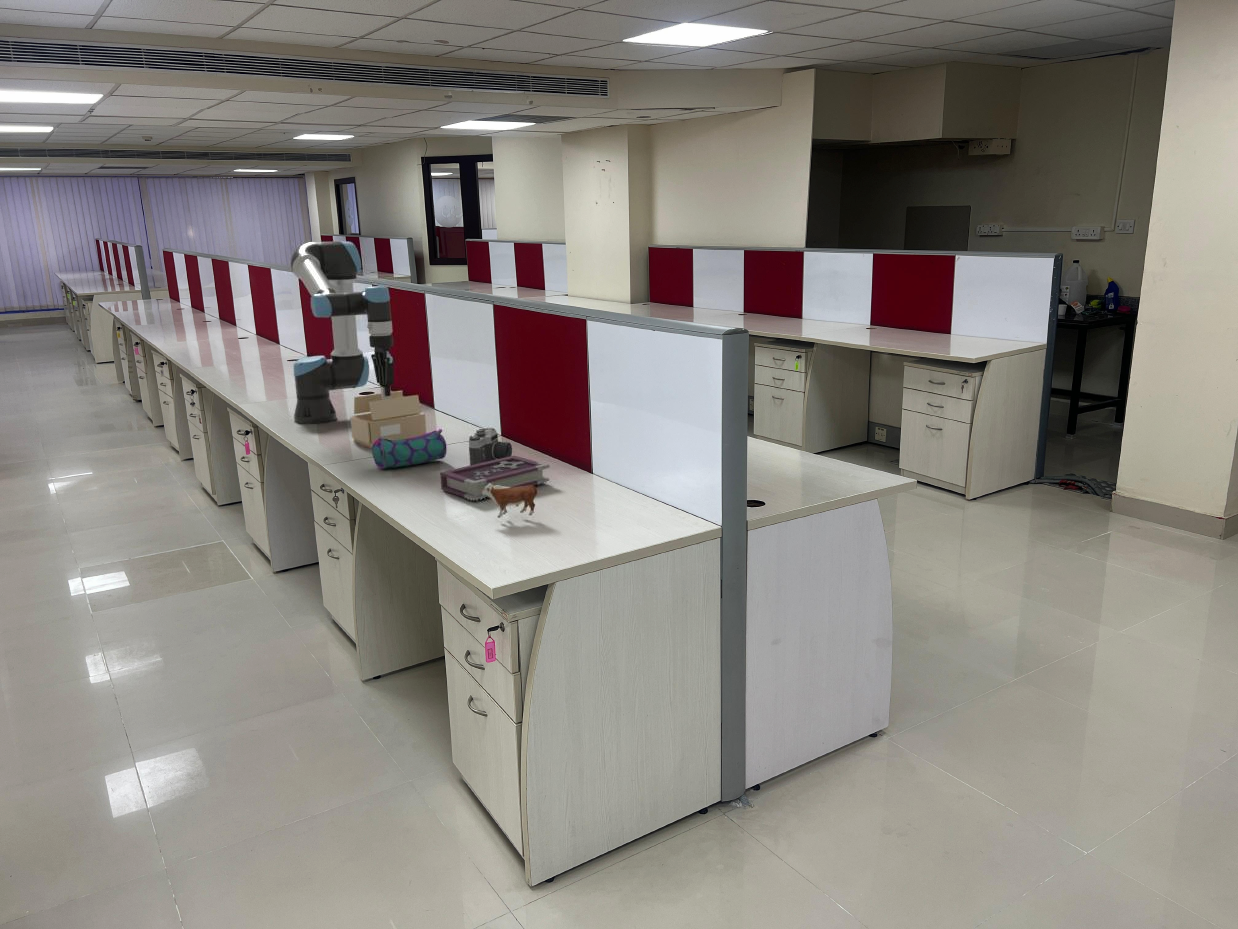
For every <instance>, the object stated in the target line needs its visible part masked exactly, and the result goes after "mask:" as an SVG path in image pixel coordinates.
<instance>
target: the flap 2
mask: <svg viewBox="0 0 1238 929" xmlns="http://www.w3.org/2000/svg"><path fill="white" fill-rule="evenodd" d="M420 403H421V402H420V400H419V395H418V394H416V395H415V394H414V395H407V396H402V397H400V398H393V399H386V400H379V401H372V402H369V405H370V410H371V412H370V413H371V415H372V420H378V419H384V418H391V417H397V416H403V415H410V414H416V413H422V409H421V405H420Z"/></svg>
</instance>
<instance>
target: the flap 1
mask: <svg viewBox="0 0 1238 929" xmlns="http://www.w3.org/2000/svg"><path fill="white" fill-rule="evenodd" d="M400 397H403V390H398V391H397V390H396V391H391V399H393V398H400ZM353 399H354V400H353V402H354V403H353V414H354V415H360V414H367V413H371V410H370V405H369V402H372V401H379V400H382V396H381V393H376V394H375V393H374V394H367V395H361V396H359V395H358V396H354V398H353Z"/></svg>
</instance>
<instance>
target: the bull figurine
mask: <svg viewBox="0 0 1238 929" xmlns="http://www.w3.org/2000/svg"><path fill="white" fill-rule="evenodd" d="M482 494H483V495H487V496H488V497H487V498H489V499H491V501H492V502H493V503H494V504H495V505H496V506H498V507H499V513H498V515H497V519H500V518H502V517H503V515H506V514H508V510H507V506H508V505H514V506H515V507H516V508H517V507H519V506H520V504H521V503H524V505H523V507H522V509H521V510H520V514H522V513H523V514H524V512H527V509H528V507H529V508H530V511H529V513H528V516H533V514H534V513H535V507H536V503H535V502H534V500H535V498H536V496H537V495H538V489H537V488H536V487H535V485H533V486H532V485H531V486H521V487H503V486H499V485H496V484H494V485H492V484H490V483H489V484H488V485H487V486H486V487H485V489H484V491H483V492H482Z"/></svg>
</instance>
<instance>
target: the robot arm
mask: <svg viewBox="0 0 1238 929" xmlns="http://www.w3.org/2000/svg"><path fill="white" fill-rule="evenodd" d="M290 268H291V271H292V273H293V274H294V275H295V277H296V278H297V279H299V280H301V282H303V285H304V286H305V288H306V290H307V292H308V293H309V295H310V296H311V297H310V309H311V311H312V314H313V316H314V317H315V318H325V319H326V318H331V322H332V324H331V325H332V327H331V328H332V337H333V338H332V339H333V347H334V348H333V350H332V351H331V353H330V359H329V358H328V359H327V358H326V356H325V355H314V356H308V357H304V358H301V359H299V360H296V361H295V362H294V363H293V377H294V386H295V392H296V393H295V394H296V395H295V396H296V405H295V408H294V409H295V410H294V412H293V413H294V414H293V420H294V423H296V422H297V424H302V425H303V424H308V425H309V424H313V425H314V424H324V423H328V422H332V421H335V420H337V417H338V415H337V411H336V408H335V407H334V405H333V403H332V400H331V396H330V391H338V390H346V389H357V388H362V387H364V386H366V385H367V383H368V381H369V376H370V364H369V359H368V358H367V356H365V355H364V353H363V350H361V349H360V348H359V343H358V330H357V319H356V317H357V316H363V315H366V316H367V327H366V328H367V329H368V334H369V336H368V341H369V347H370V348H373V351H374V353H372V354H371V355H370V356H371V360H372V364H373V369H374V374H375V375H374V376H375V378H376V379H375V380H376V383H377V384H378V385H379V387H380V392H381V393H380V394H381V396H382V400H386V399H391V392H392V391H391V386H393V385H394V378H395V377H394V376H395V375H394V374H395V373H394V371H395V370H394V369H395V368H394V367H395V360H396V359H395V357H394V356H392V354H391V350H390V347H393V346H394V336H393V334H392V333H393V323H392V322H393V321H392V313H391V312H392V311H391V302H390V301H391V300H390V299H391V297H390V293H389V292H390V291H389V288H388V287H387V286H385V285H384V286H382V285H376V286H375V285H373V286H367V287H365V289H364V290H362V291H354V282H355V281H357V279H358V278H357V275H358V274H360V273H362V272H361V271H362V262H361V257H360V254H359V250H358V249H357V247H356V245H355V244H354V243H353V242H352V241H343V240H342V241H341V240H338V241H337V240H336V241H335V240H333V241H308V242H306V243H304V244H301V245H300V246H298V247H297V248H296V249H295V251H294V252H293V253H292V254H291V257H290Z"/></svg>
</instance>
